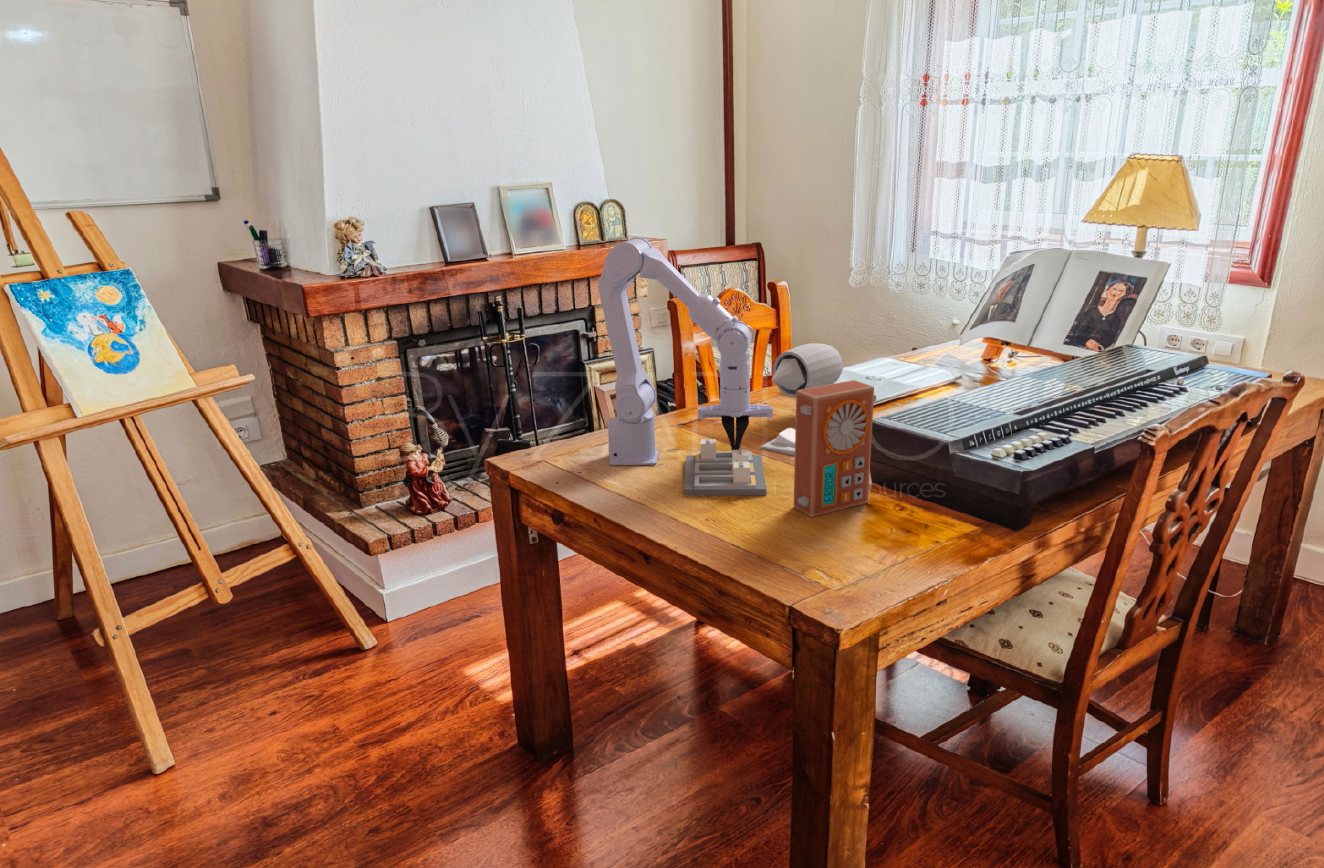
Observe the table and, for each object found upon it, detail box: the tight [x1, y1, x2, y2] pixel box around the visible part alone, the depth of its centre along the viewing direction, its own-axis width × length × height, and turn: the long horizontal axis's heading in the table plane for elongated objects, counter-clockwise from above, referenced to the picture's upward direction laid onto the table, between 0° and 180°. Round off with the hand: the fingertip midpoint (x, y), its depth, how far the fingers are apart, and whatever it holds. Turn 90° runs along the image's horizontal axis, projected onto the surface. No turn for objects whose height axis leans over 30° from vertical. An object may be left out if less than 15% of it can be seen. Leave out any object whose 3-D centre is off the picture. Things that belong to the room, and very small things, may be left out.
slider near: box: [733, 461, 750, 484], centre depth 161 cm, size 3×3×4 cm
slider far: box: [700, 437, 717, 459], centre depth 173 cm, size 3×3×4 cm
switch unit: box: [683, 450, 768, 496], centre depth 168 cm, size 15×18×2 cm
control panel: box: [793, 379, 877, 518], centre depth 151 cm, size 21×7×15 cm
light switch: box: [758, 427, 796, 457], centre depth 184 cm, size 11×4×13 cm
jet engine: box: [770, 342, 844, 399], centre depth 198 cm, size 15×20×18 cm
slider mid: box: [731, 448, 749, 471], centre depth 167 cm, size 3×3×4 cm
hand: (735, 451), depth 173 cm, fingers closed
